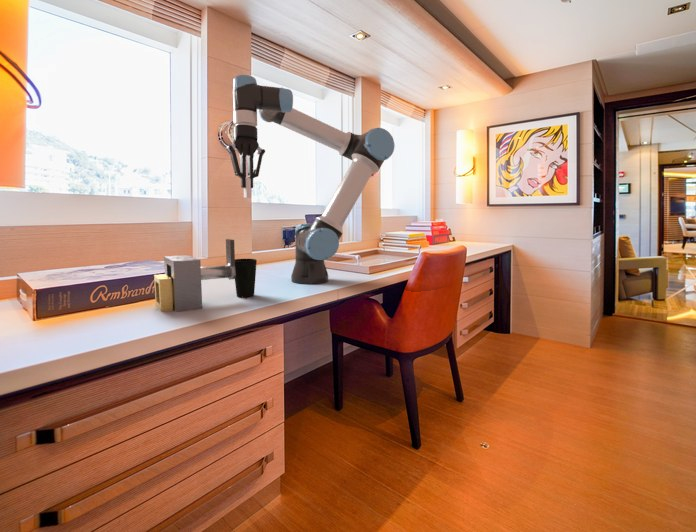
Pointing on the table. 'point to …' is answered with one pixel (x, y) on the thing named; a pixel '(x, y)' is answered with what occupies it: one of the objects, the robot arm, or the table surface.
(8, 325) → the table surface
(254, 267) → the cup
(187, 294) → the block
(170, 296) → the block
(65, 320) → the table surface
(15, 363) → the table surface
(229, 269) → the shaft
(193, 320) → the table surface
